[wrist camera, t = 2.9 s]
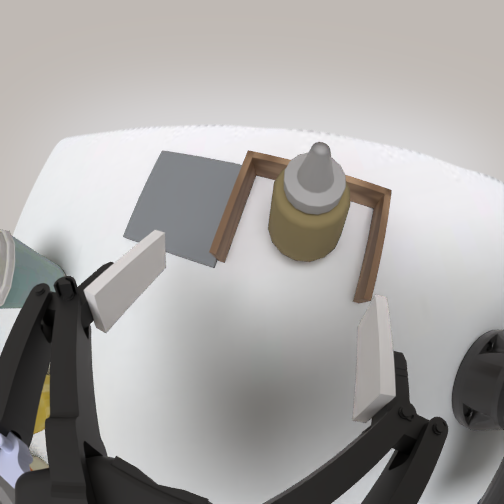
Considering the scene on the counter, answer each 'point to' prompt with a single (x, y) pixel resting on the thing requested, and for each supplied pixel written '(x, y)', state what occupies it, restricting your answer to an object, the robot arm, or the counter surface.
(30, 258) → the disposable coffee cup
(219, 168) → the slate mat
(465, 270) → the counter surface
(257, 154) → the walnut nook
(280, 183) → the squeeze bottle
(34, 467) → the reusable coffee cup
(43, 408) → the plant pot
